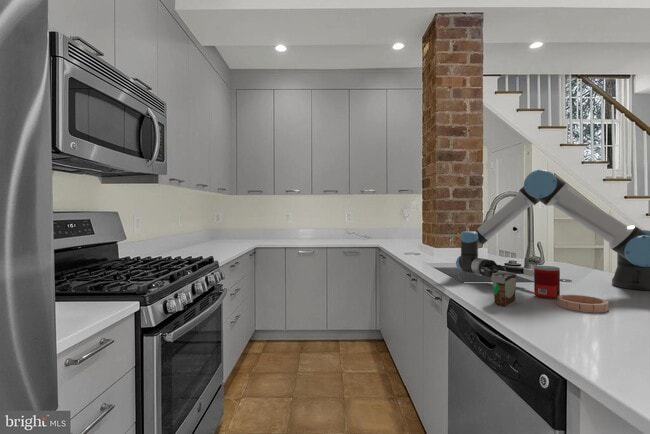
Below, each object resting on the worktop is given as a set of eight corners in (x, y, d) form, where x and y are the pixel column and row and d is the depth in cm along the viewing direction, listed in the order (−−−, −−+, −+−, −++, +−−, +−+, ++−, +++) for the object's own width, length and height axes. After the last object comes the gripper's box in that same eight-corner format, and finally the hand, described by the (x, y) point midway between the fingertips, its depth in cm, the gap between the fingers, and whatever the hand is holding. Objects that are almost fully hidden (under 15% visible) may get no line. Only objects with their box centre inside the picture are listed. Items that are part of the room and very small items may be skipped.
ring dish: (584, 301, 125) (585, 294, 125) (619, 311, 112) (619, 304, 112) (548, 302, 124) (548, 295, 124) (578, 313, 111) (578, 305, 111)
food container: (498, 298, 131) (498, 270, 130) (516, 301, 126) (516, 272, 126) (485, 304, 122) (485, 275, 122) (504, 307, 118) (504, 277, 117)
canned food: (563, 299, 127) (563, 269, 127) (538, 299, 129) (538, 268, 128) (554, 294, 135) (554, 265, 134) (531, 294, 136) (531, 265, 136)
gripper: (506, 273, 164) (548, 282, 144) (461, 277, 156) (500, 287, 136) (506, 257, 164) (548, 263, 144) (461, 260, 156) (500, 267, 136)
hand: (525, 275), depth 140 cm, fingers open, 13 cm apart
